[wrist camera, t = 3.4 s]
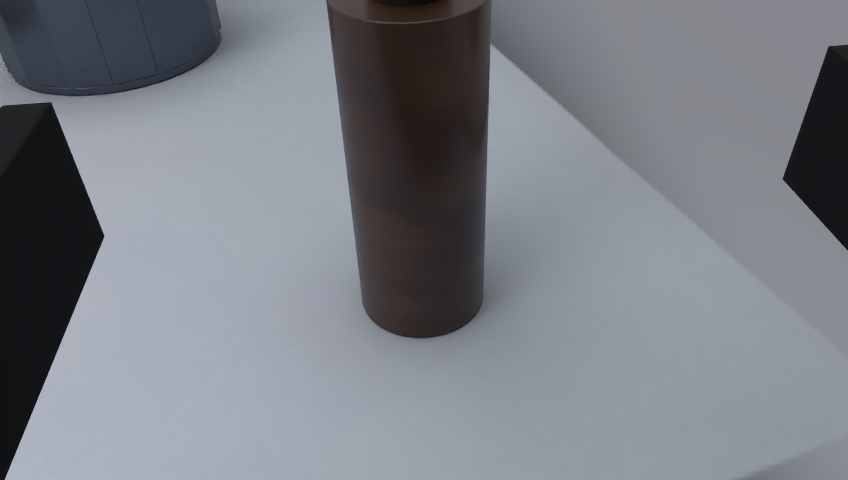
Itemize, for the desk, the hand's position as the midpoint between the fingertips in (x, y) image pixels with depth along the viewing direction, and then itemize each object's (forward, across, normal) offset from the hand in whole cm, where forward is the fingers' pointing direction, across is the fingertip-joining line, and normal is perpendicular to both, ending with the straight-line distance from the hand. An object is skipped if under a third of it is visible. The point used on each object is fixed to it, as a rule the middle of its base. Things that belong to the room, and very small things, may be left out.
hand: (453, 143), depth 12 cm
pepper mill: (+10, 0, -13) cm, 16 cm away
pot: (+37, -18, -13) cm, 43 cm away
